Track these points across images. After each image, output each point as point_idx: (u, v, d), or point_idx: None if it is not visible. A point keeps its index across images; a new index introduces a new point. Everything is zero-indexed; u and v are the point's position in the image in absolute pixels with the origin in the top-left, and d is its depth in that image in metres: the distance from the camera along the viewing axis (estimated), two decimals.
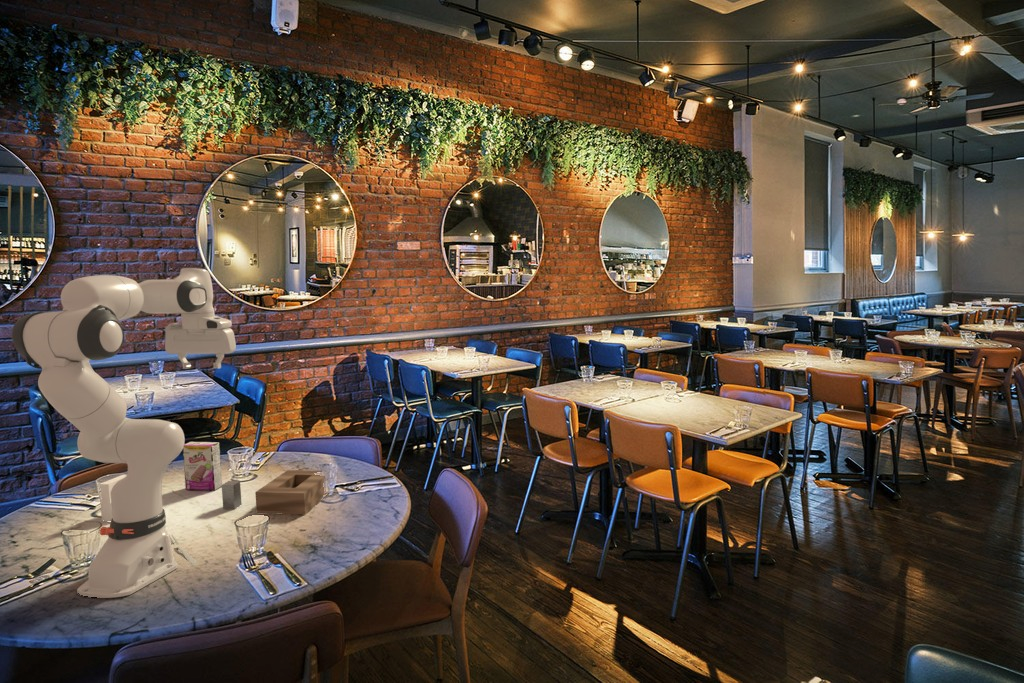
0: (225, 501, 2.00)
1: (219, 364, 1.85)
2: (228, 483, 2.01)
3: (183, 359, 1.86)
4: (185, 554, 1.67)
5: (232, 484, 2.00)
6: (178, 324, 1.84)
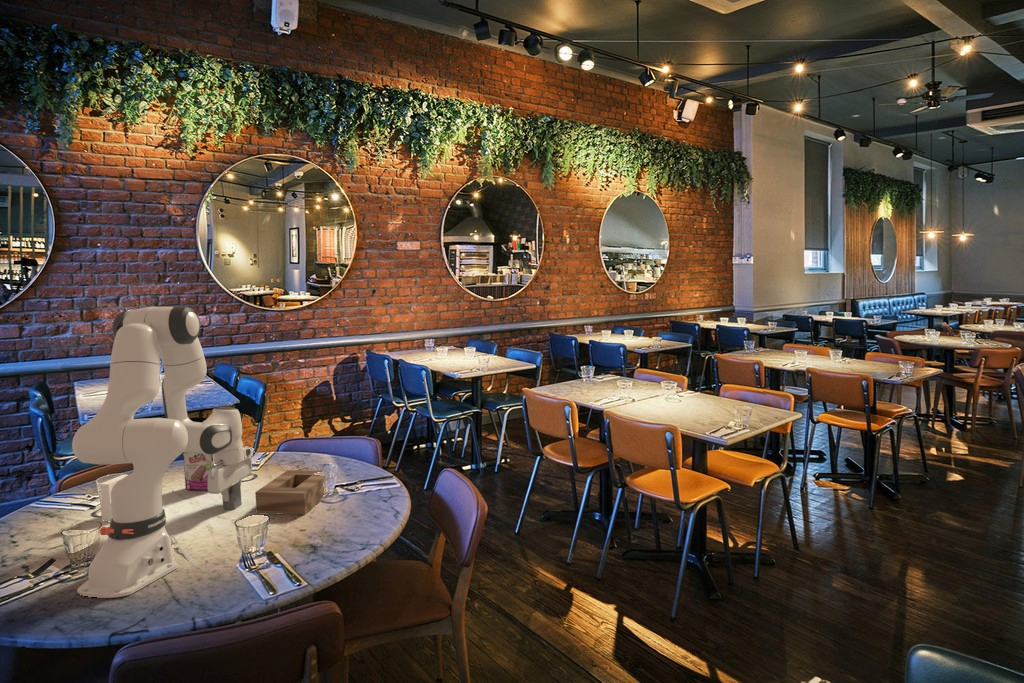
0: (225, 501, 2.00)
1: None
2: None
3: None
4: (185, 554, 1.67)
5: None
6: (219, 463, 1.94)
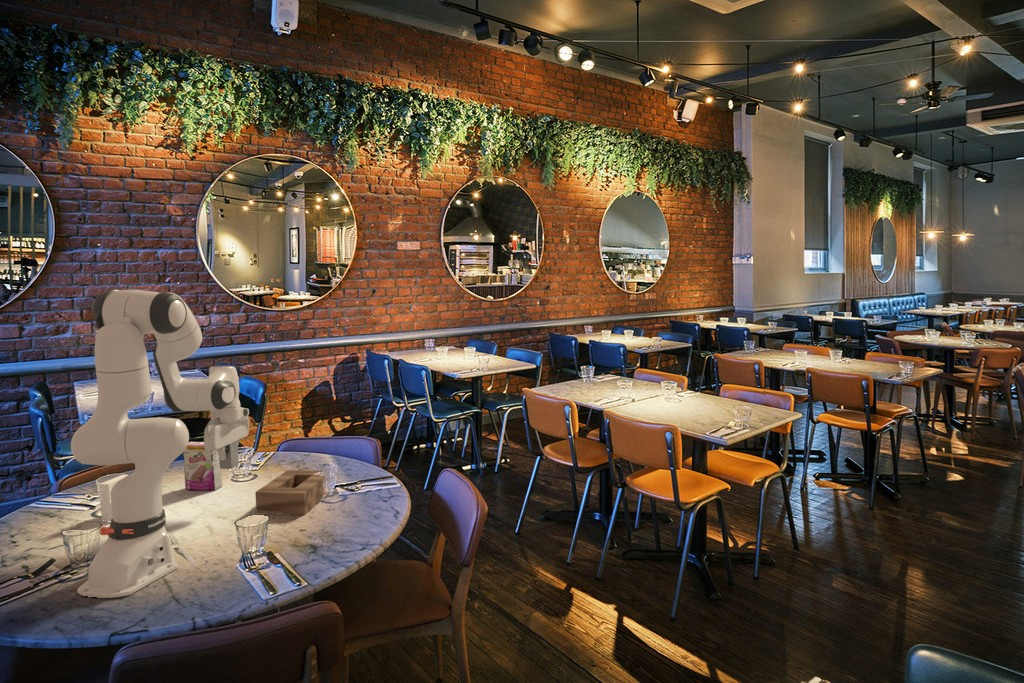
0: (222, 460, 1.98)
1: None
2: None
3: None
4: (185, 554, 1.67)
5: None
6: (216, 420, 1.92)
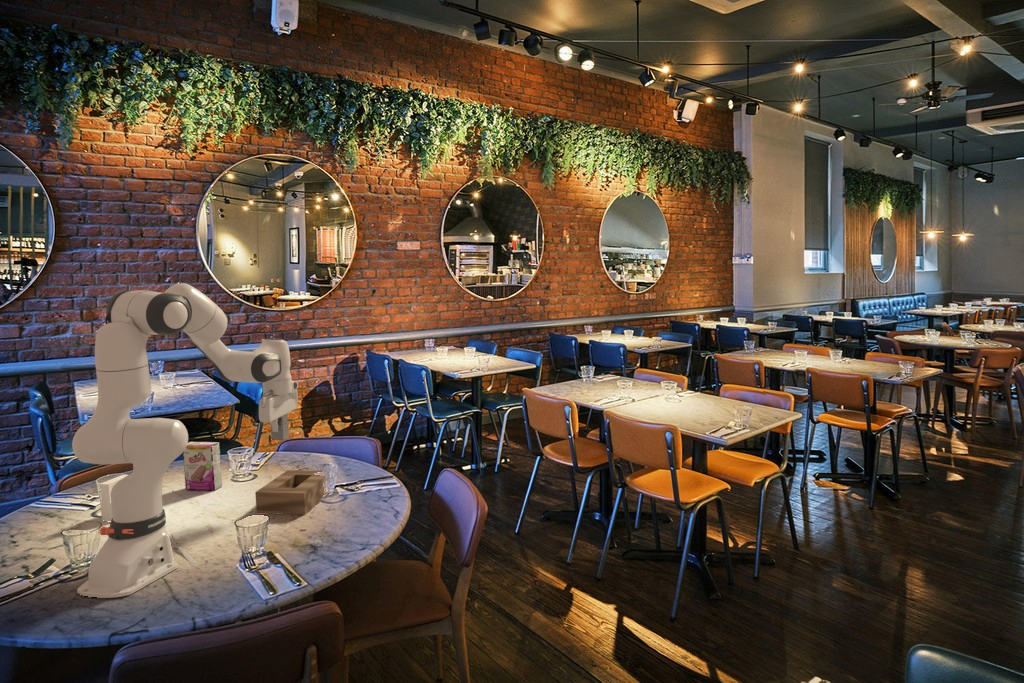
0: (274, 432, 2.01)
1: None
2: None
3: None
4: (185, 554, 1.67)
5: None
6: (270, 392, 1.95)
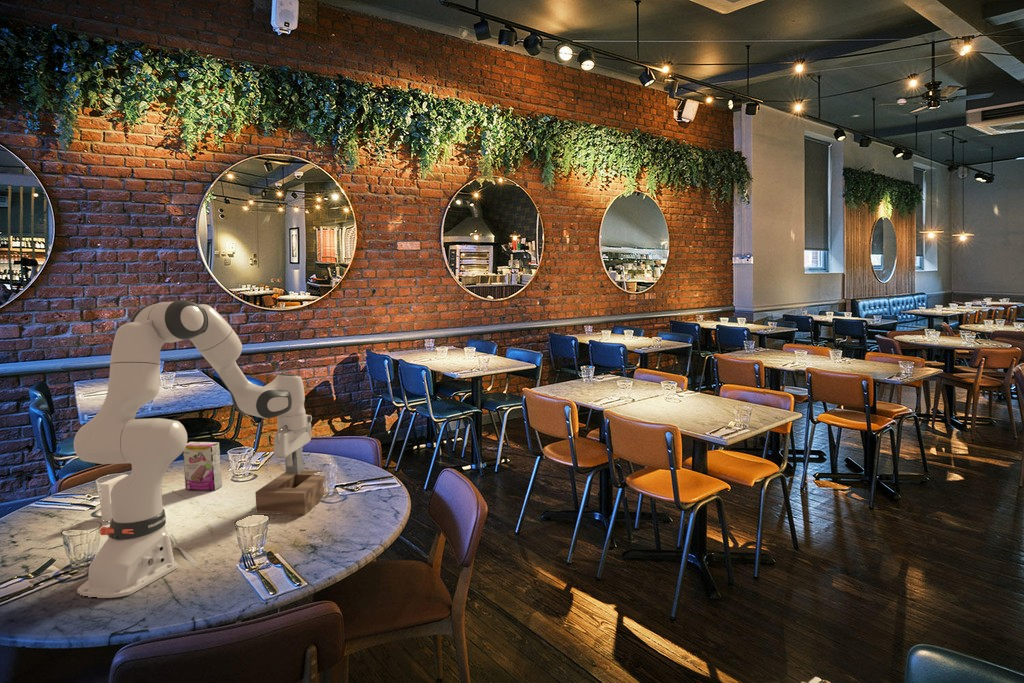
0: (288, 466, 2.03)
1: None
2: None
3: None
4: (185, 554, 1.67)
5: None
6: (284, 428, 1.97)
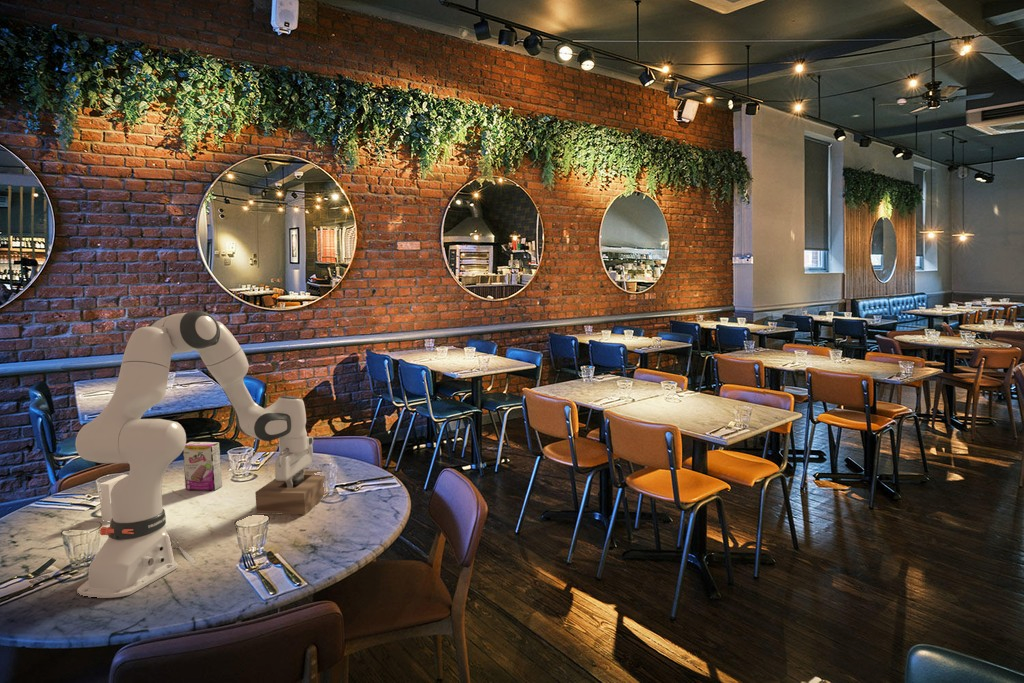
0: None
1: None
2: None
3: None
4: (185, 554, 1.67)
5: (296, 476, 2.03)
6: (286, 451, 1.98)
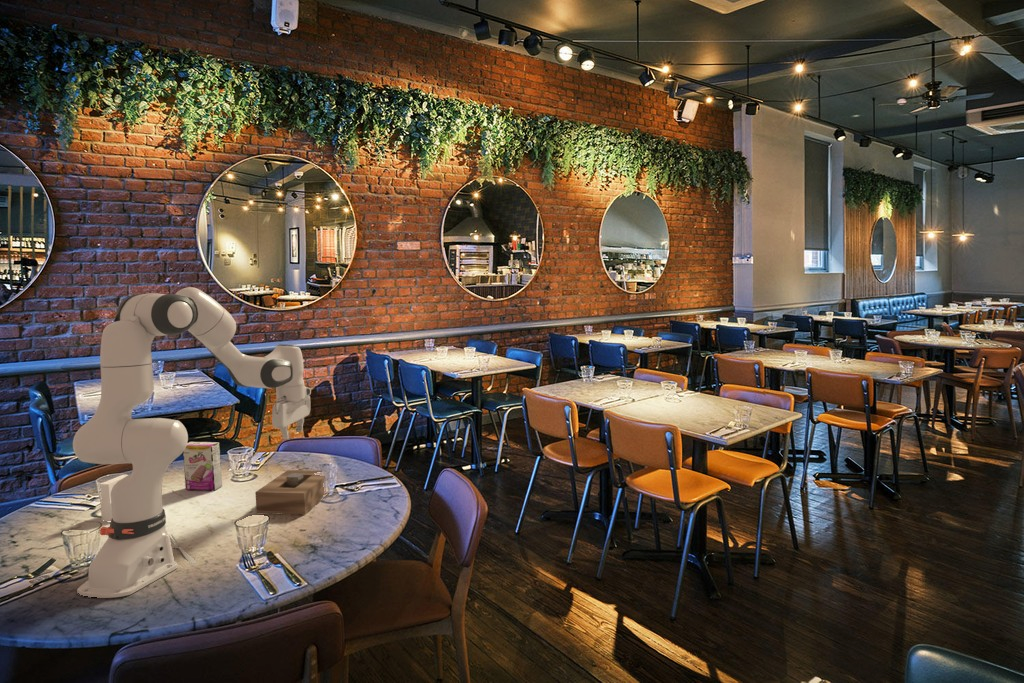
0: None
1: None
2: (292, 475, 2.04)
3: None
4: (185, 554, 1.67)
5: (296, 476, 2.03)
6: (283, 398, 1.96)
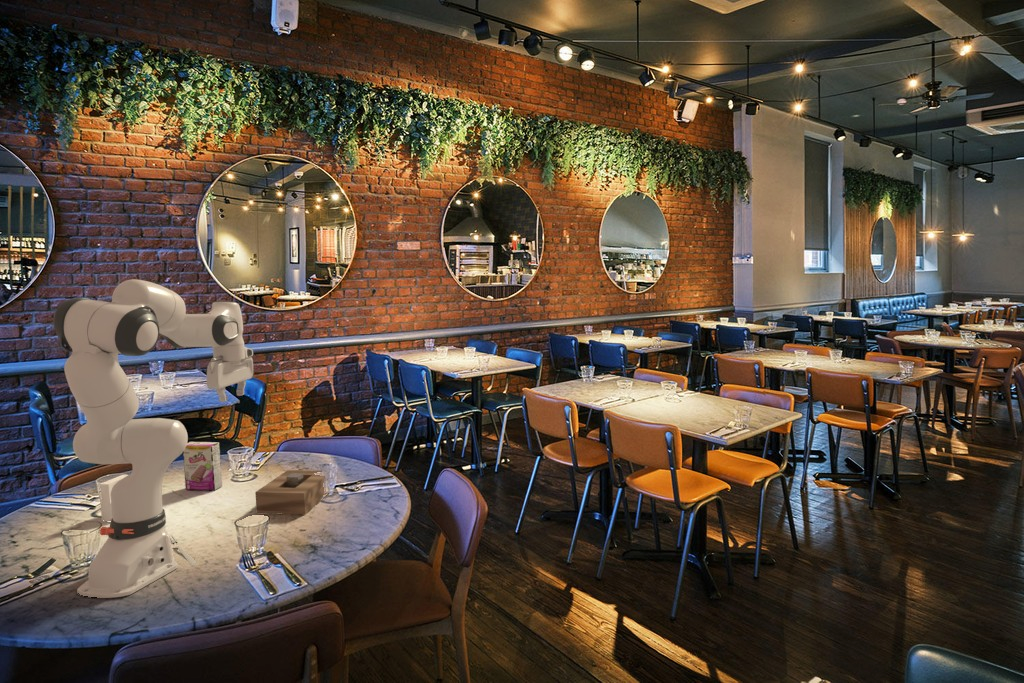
0: None
1: None
2: (292, 475, 2.04)
3: None
4: (184, 554, 1.67)
5: (296, 476, 2.03)
6: (219, 358, 1.84)
